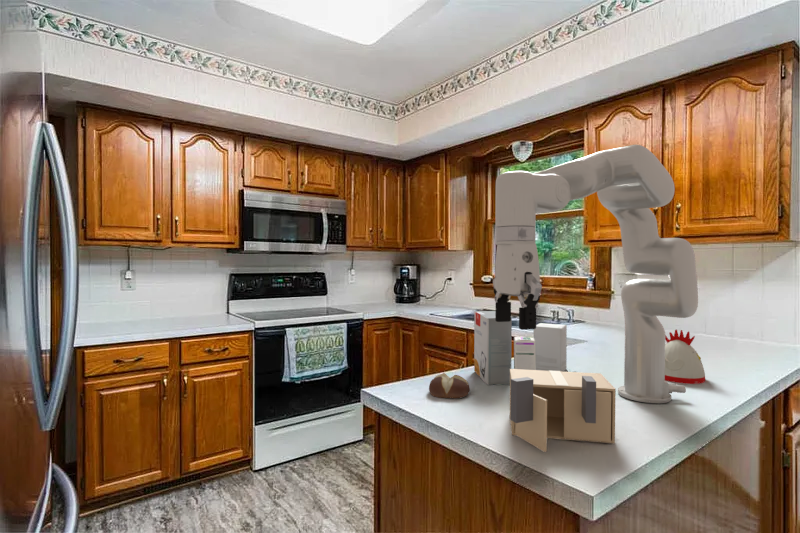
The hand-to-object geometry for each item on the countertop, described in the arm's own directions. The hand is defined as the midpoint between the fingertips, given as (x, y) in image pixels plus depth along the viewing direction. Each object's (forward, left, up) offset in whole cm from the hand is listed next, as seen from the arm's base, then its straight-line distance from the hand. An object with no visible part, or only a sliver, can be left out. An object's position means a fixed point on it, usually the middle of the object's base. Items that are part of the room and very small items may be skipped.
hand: (514, 325), depth 85 cm
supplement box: (-15, -64, -24) cm, 70 cm away
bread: (+15, -32, -24) cm, 44 cm away
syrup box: (-5, -40, -24) cm, 47 cm away
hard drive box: (+4, -50, -24) cm, 56 cm away
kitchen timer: (-53, -63, -24) cm, 86 cm away
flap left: (-2, -1, -24) cm, 24 cm away
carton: (-10, -12, -24) cm, 29 cm away
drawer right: (-14, -4, -23) cm, 28 cm away
